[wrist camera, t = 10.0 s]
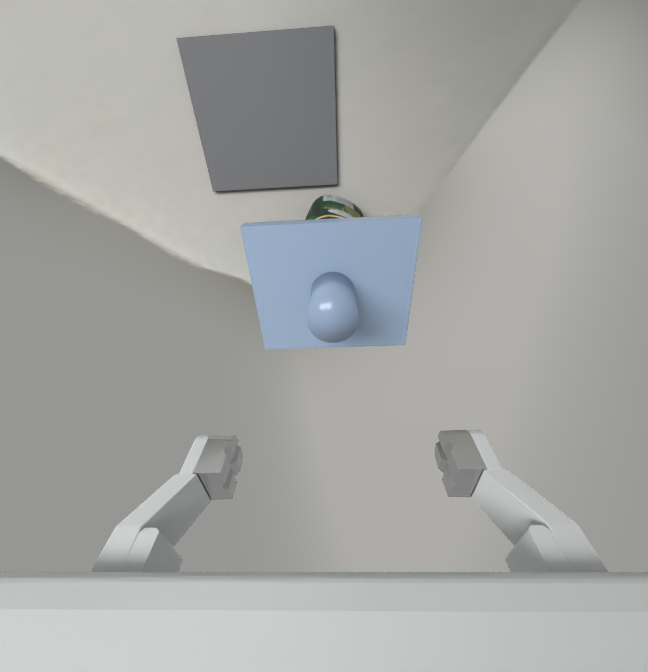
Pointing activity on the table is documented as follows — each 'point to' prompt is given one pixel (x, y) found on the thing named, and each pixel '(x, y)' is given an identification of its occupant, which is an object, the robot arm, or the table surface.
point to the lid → (333, 280)
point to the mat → (265, 106)
